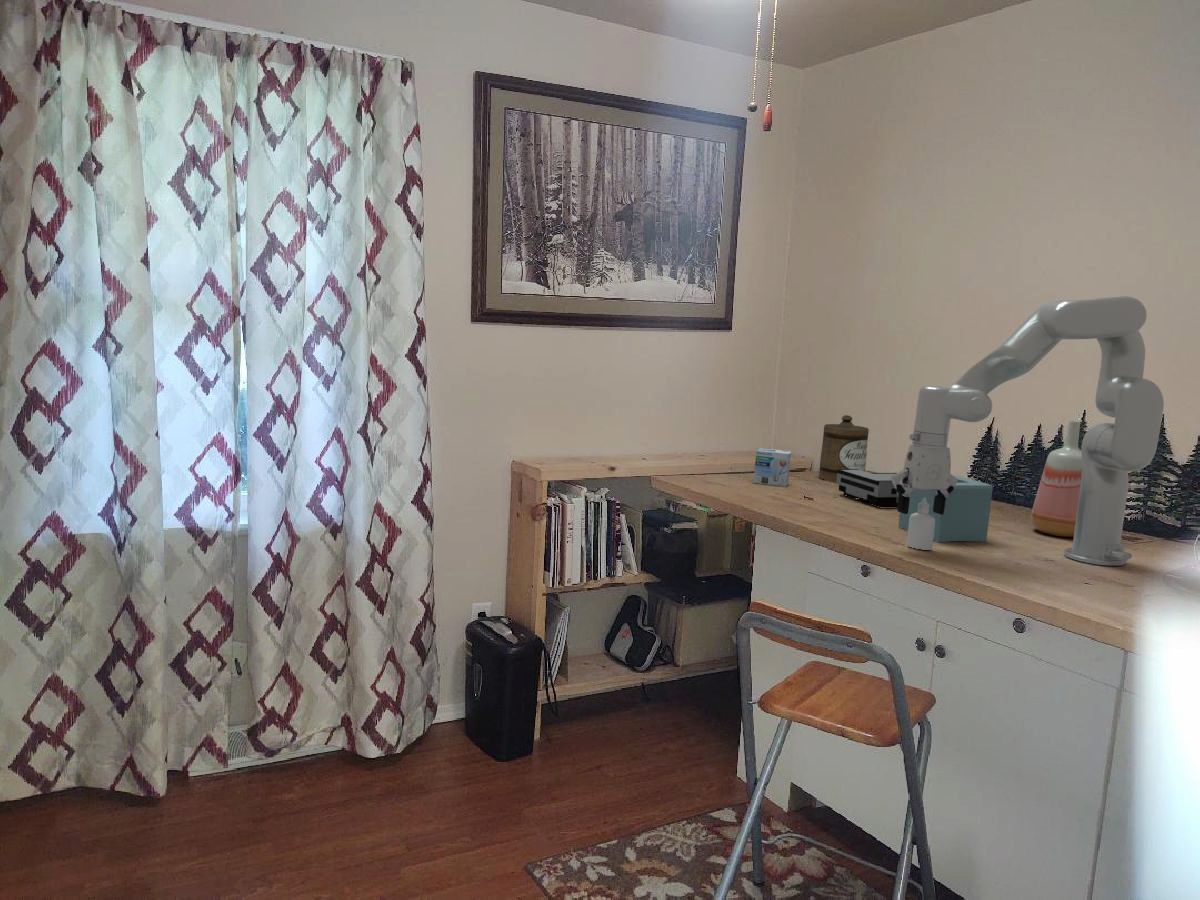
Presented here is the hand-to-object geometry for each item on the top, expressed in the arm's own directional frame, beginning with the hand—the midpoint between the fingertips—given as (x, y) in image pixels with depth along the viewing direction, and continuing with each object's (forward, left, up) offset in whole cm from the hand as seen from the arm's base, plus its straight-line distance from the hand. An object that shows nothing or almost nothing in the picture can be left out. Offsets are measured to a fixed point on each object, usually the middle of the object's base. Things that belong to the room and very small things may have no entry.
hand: (920, 513), depth 207 cm
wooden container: (+89, -35, -9) cm, 96 cm away
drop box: (+13, -17, -8) cm, 23 cm away
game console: (+54, -33, -9) cm, 64 cm away
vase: (+11, -52, -9) cm, 53 cm away
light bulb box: (+82, -5, -9) cm, 82 cm away
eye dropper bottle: (0, -1, -9) cm, 9 cm away
